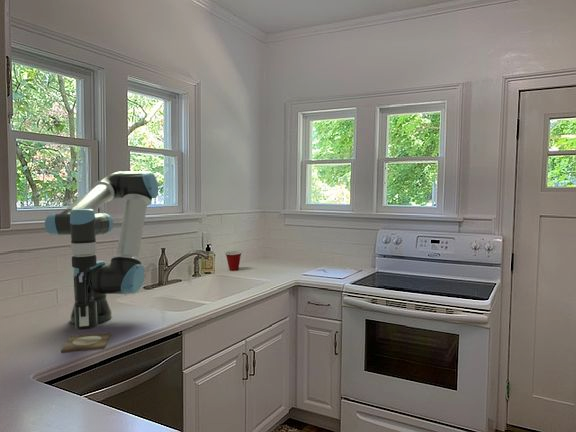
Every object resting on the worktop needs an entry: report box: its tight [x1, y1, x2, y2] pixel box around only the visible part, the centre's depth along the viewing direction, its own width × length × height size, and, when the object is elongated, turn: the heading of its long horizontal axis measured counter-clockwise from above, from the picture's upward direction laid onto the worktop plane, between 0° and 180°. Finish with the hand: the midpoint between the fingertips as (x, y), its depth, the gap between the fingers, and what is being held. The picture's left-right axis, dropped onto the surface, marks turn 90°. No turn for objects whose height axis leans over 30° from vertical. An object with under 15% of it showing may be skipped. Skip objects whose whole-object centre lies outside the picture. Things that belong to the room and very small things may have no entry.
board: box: [60, 332, 112, 353], centre depth 148 cm, size 14×13×1 cm
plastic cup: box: [224, 250, 242, 272], centre depth 283 cm, size 11×11×12 cm
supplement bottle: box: [73, 291, 98, 331], centre depth 148 cm, size 7×7×12 cm
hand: (86, 322), depth 148 cm, fingers closed on supplement bottle, 7 cm apart
